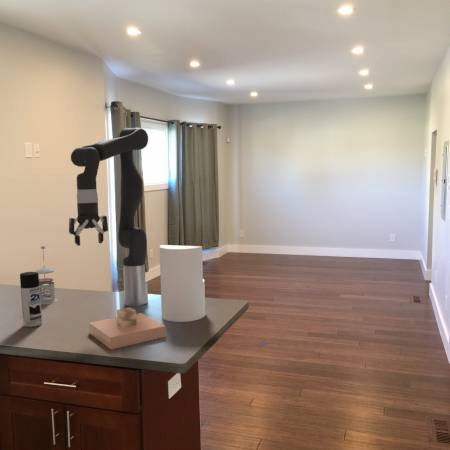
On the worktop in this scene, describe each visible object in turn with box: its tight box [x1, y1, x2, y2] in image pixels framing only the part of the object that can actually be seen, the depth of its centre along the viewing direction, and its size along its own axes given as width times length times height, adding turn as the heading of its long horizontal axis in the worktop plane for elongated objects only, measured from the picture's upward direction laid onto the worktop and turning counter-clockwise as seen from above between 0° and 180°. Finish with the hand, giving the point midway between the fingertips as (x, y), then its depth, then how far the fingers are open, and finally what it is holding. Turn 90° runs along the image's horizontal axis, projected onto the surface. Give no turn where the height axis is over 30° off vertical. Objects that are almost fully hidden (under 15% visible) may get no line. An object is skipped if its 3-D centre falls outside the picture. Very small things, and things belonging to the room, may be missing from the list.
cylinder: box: [159, 244, 206, 323], centre depth 199 cm, size 17×17×28 cm
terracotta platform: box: [88, 312, 167, 350], centre depth 178 cm, size 20×20×4 cm
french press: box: [34, 245, 58, 305], centre depth 224 cm, size 10×12×25 cm
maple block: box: [116, 307, 137, 327], centre depth 177 cm, size 5×5×5 cm
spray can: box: [19, 271, 43, 328], centre depth 190 cm, size 7×7×20 cm
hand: (89, 244), depth 191 cm, fingers open, 8 cm apart
